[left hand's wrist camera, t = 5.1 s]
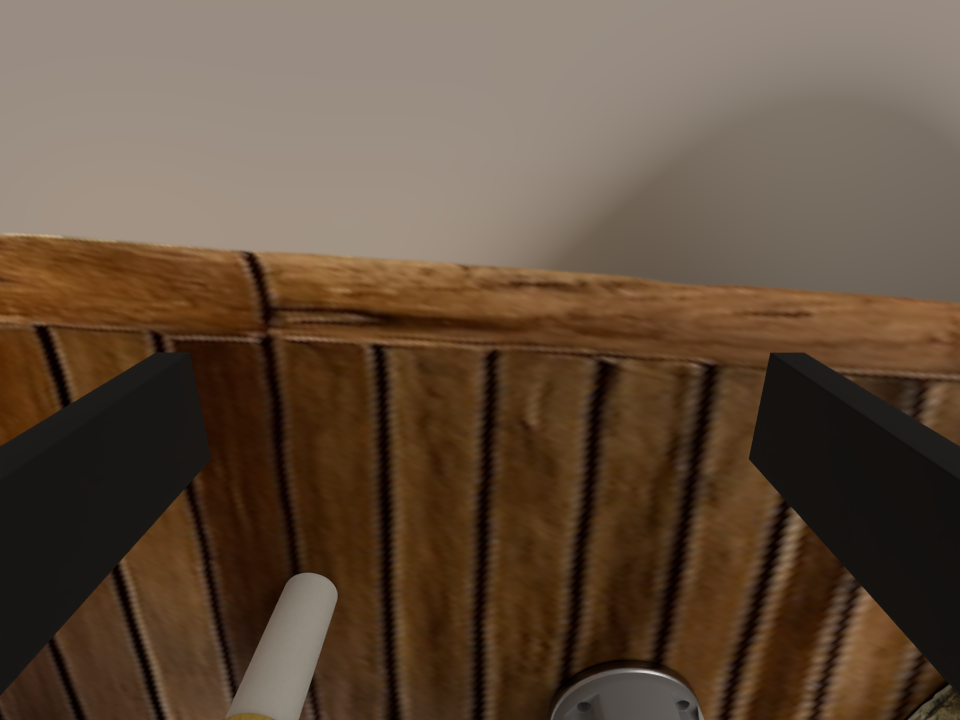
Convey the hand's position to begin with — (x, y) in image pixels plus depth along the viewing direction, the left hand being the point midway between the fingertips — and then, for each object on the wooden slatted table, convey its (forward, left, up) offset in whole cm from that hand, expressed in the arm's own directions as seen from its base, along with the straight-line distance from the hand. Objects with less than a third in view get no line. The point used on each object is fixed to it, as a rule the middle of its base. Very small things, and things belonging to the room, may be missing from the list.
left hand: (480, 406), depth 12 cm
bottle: (-32, +16, -28) cm, 46 cm away
